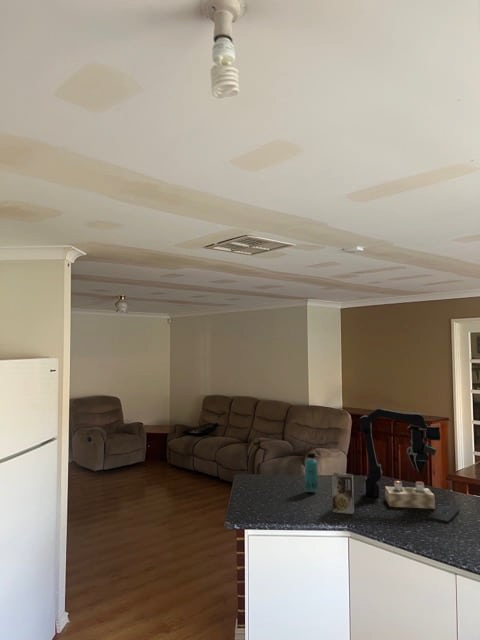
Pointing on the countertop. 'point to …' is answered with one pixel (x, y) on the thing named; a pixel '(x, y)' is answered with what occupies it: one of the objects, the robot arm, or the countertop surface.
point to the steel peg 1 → (398, 486)
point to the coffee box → (343, 493)
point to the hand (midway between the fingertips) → (417, 471)
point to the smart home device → (444, 514)
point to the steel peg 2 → (420, 487)
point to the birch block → (409, 498)
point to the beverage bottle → (311, 473)
